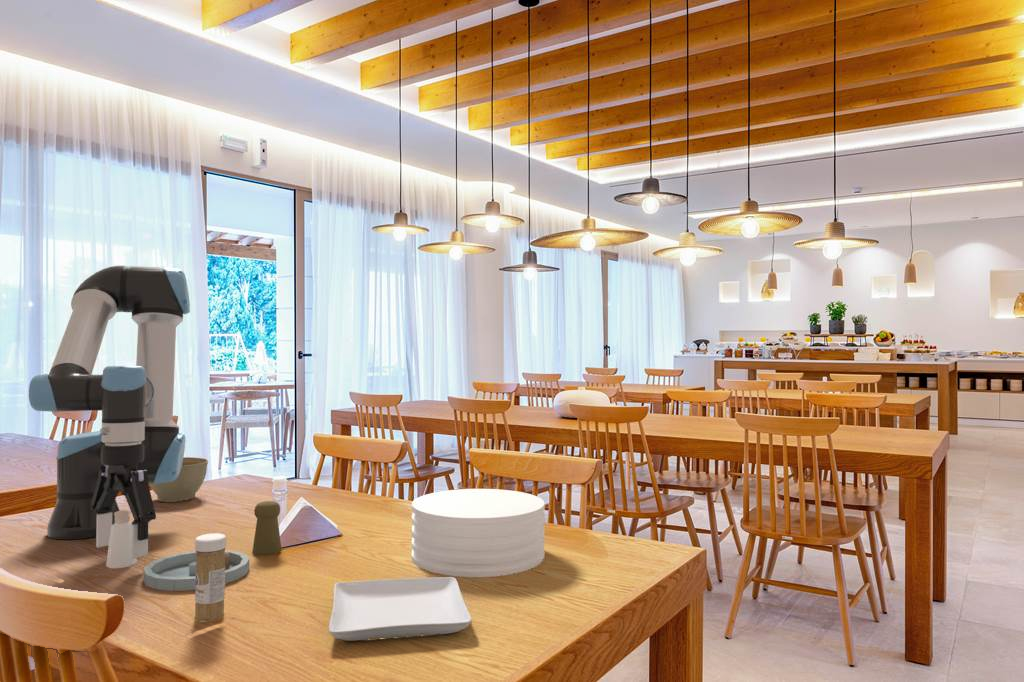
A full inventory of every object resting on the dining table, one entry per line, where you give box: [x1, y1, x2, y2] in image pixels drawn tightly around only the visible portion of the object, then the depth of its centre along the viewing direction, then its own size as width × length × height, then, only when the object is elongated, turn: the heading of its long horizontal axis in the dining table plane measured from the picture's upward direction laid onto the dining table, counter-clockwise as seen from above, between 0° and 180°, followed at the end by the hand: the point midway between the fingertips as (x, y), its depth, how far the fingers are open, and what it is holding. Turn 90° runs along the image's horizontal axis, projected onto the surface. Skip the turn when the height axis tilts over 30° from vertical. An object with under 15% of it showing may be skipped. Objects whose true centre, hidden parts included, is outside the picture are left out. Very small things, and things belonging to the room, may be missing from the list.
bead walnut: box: [225, 552, 230, 570], centre depth 132 cm, size 4×4×4 cm
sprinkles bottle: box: [193, 532, 227, 623], centre depth 112 cm, size 5×5×14 cm
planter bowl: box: [149, 456, 209, 503], centre depth 201 cm, size 16×16×11 cm
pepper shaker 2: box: [251, 500, 282, 556], centre depth 148 cm, size 6×6×11 cm
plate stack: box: [410, 488, 546, 578], centre depth 148 cm, size 28×28×12 cm
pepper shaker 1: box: [105, 509, 138, 569], centre depth 139 cm, size 5×5×11 cm
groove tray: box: [143, 549, 250, 592], centre depth 133 cm, size 18×18×3 cm
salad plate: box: [328, 576, 473, 642], centre depth 114 cm, size 21×21×3 cm
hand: (121, 551), depth 139 cm, fingers open, 13 cm apart
